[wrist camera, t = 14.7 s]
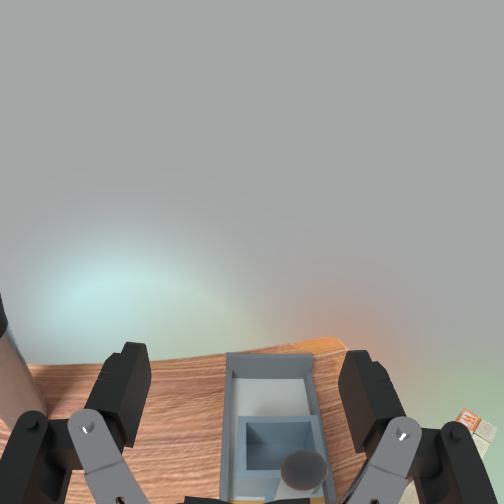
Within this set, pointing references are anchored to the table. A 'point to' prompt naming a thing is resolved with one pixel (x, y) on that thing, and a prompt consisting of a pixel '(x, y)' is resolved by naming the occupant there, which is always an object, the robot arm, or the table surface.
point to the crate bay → (267, 409)
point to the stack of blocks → (481, 436)
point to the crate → (279, 457)
